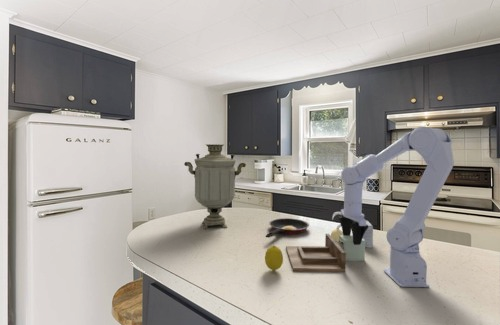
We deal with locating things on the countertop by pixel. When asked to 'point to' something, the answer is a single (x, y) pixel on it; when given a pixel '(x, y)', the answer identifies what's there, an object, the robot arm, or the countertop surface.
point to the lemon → (273, 258)
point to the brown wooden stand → (318, 257)
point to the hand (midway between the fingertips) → (351, 240)
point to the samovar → (214, 182)
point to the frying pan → (287, 226)
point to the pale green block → (352, 248)
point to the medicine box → (368, 236)
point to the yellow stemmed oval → (336, 230)
